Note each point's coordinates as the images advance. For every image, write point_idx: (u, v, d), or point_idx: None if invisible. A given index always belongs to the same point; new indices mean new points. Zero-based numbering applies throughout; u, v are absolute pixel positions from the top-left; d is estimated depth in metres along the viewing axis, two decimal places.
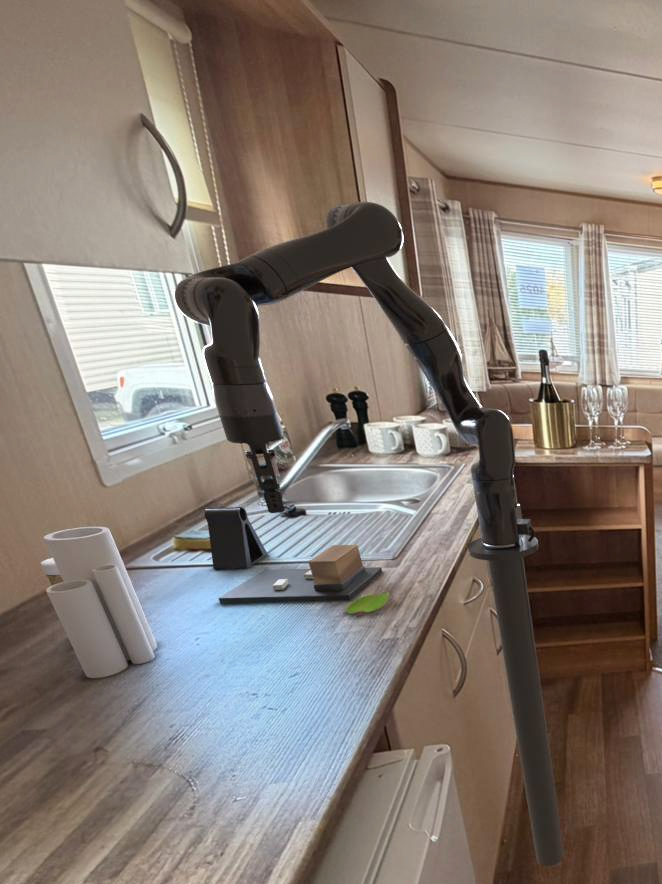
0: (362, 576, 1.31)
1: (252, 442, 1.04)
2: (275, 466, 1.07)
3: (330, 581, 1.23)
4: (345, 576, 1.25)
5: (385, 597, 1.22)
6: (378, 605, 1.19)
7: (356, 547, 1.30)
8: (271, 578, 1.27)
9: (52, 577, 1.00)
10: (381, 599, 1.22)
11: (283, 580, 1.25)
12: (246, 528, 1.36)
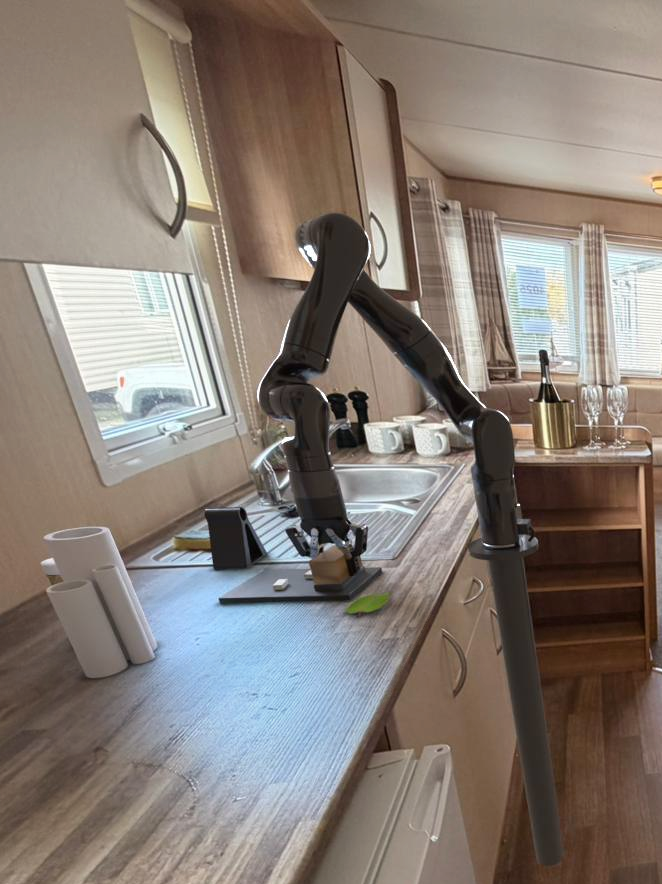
0: (362, 576, 1.31)
1: (343, 515, 1.23)
2: (347, 535, 1.26)
3: (330, 581, 1.23)
4: (345, 576, 1.25)
5: (385, 597, 1.22)
6: (378, 605, 1.19)
7: None
8: (271, 578, 1.27)
9: (52, 577, 1.00)
10: (381, 599, 1.22)
11: (283, 580, 1.25)
12: (246, 528, 1.36)
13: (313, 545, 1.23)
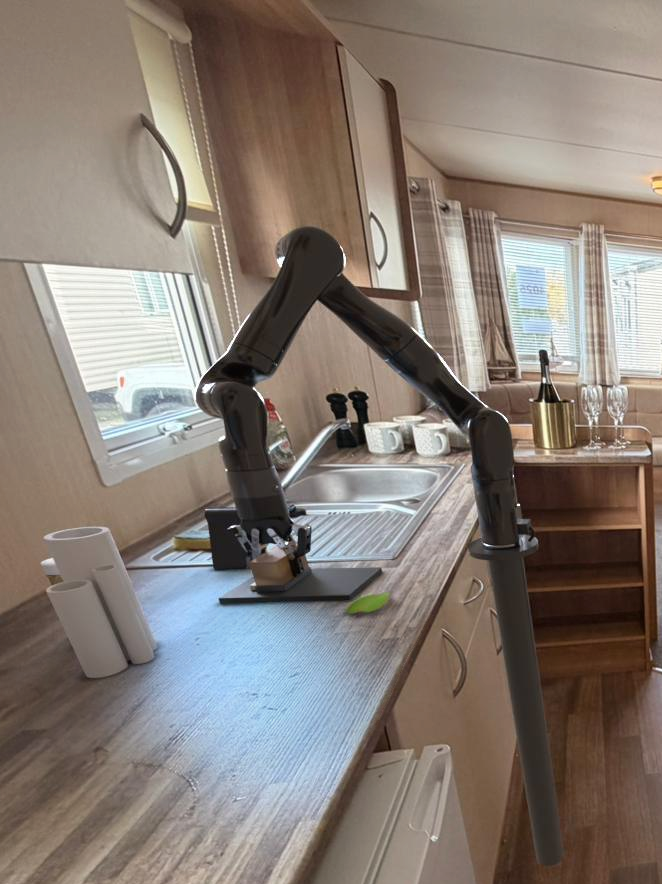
0: (362, 576, 1.31)
1: (285, 515, 1.21)
2: (291, 535, 1.24)
3: (271, 582, 1.21)
4: (288, 577, 1.23)
5: (385, 597, 1.22)
6: (378, 605, 1.19)
7: None
8: None
9: (52, 577, 1.00)
10: (381, 599, 1.22)
11: None
12: None
13: (254, 545, 1.21)
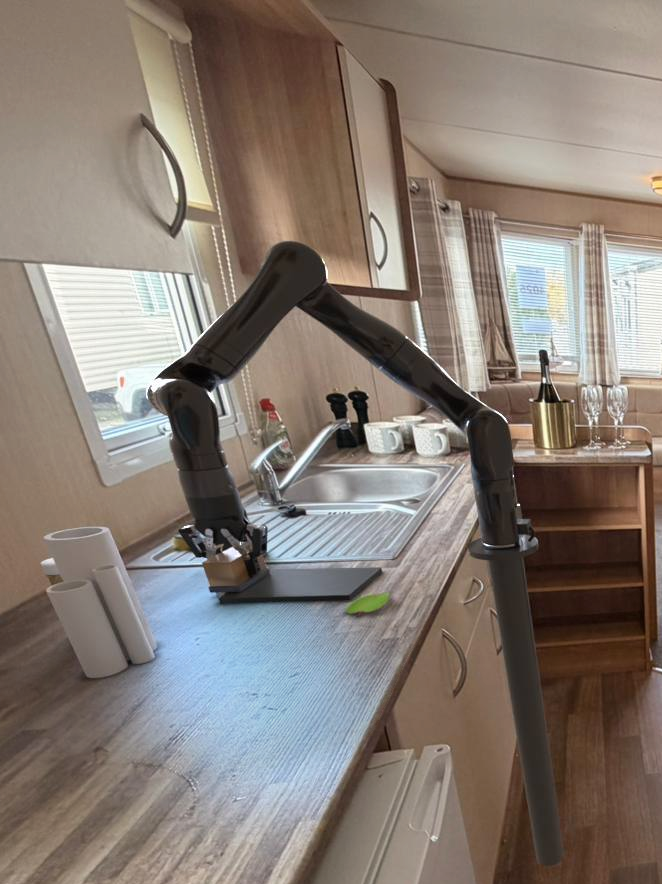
0: (362, 576, 1.31)
1: (239, 515, 1.19)
2: (246, 535, 1.23)
3: (226, 583, 1.20)
4: (243, 578, 1.22)
5: (385, 597, 1.22)
6: (378, 605, 1.19)
7: None
8: (271, 578, 1.27)
9: (52, 577, 1.00)
10: (381, 599, 1.22)
11: None
12: None
13: (208, 546, 1.20)
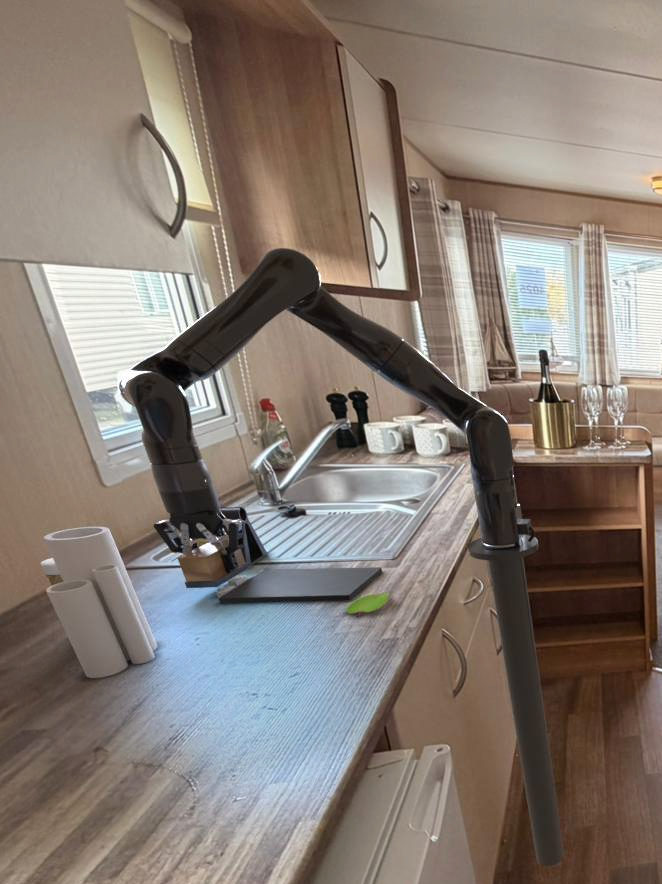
0: (362, 576, 1.31)
1: (215, 509, 1.18)
2: (223, 530, 1.22)
3: (202, 578, 1.19)
4: (220, 573, 1.21)
5: (385, 597, 1.22)
6: (378, 605, 1.19)
7: None
8: (271, 578, 1.27)
9: (52, 577, 1.00)
10: (381, 599, 1.22)
11: None
12: (246, 528, 1.36)
13: (184, 541, 1.19)
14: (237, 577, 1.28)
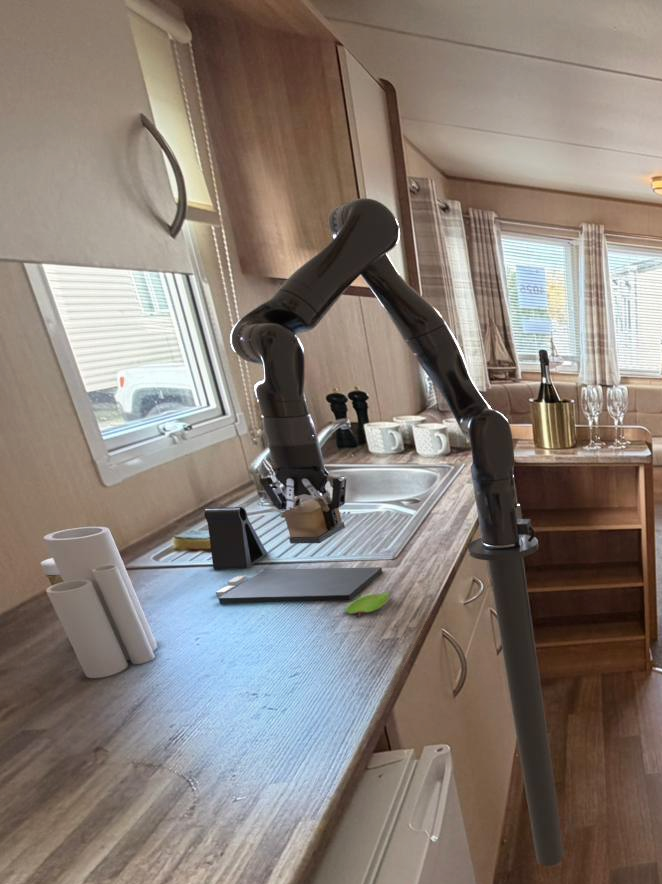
0: (362, 576, 1.31)
1: (320, 465, 1.19)
2: (325, 487, 1.22)
3: (306, 534, 1.19)
4: (322, 529, 1.21)
5: (385, 597, 1.22)
6: (378, 605, 1.19)
7: None
8: (271, 578, 1.27)
9: (52, 577, 1.00)
10: (381, 599, 1.22)
11: None
12: (246, 528, 1.36)
13: (289, 496, 1.19)
14: (237, 577, 1.28)
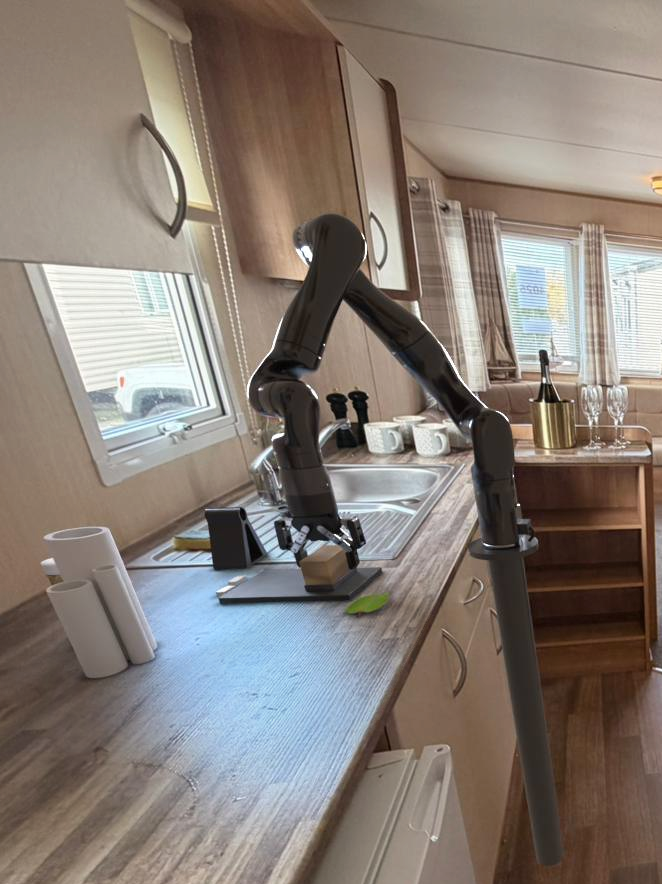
0: (362, 576, 1.31)
1: (334, 512, 1.22)
2: (341, 530, 1.26)
3: (321, 581, 1.23)
4: (336, 576, 1.25)
5: (385, 597, 1.22)
6: (378, 605, 1.19)
7: None
8: (271, 578, 1.27)
9: (52, 577, 1.00)
10: (381, 599, 1.22)
11: None
12: (246, 528, 1.36)
13: (298, 540, 1.22)
14: (237, 577, 1.28)
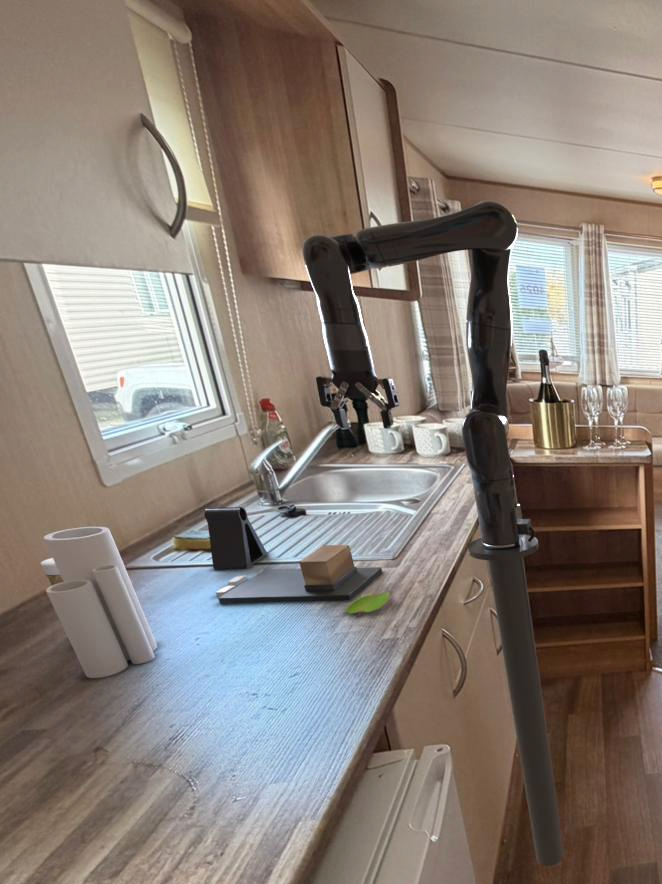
0: (362, 576, 1.31)
1: (371, 371, 1.32)
2: (377, 391, 1.36)
3: (321, 581, 1.23)
4: (336, 576, 1.25)
5: (385, 597, 1.22)
6: (378, 605, 1.19)
7: (347, 547, 1.30)
8: (271, 578, 1.27)
9: (52, 577, 1.00)
10: (381, 599, 1.22)
11: None
12: (246, 528, 1.36)
13: (338, 396, 1.32)
14: (237, 577, 1.28)
